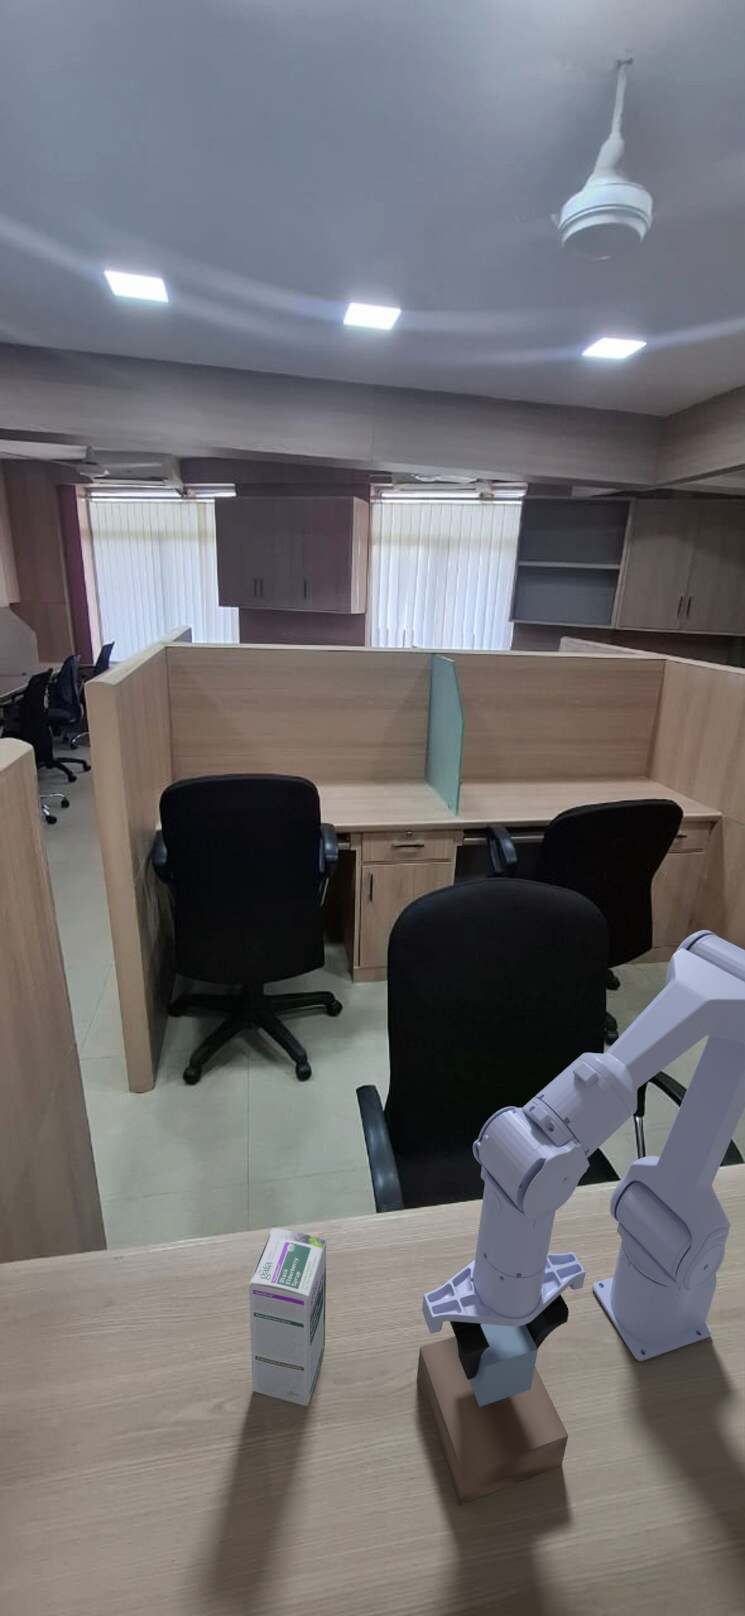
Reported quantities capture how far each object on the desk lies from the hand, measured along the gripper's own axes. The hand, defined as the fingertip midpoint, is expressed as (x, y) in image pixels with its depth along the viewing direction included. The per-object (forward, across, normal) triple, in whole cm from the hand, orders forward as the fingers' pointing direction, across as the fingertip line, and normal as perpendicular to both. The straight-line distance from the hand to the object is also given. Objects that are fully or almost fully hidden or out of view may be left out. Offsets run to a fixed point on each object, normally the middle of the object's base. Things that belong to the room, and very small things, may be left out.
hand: (495, 1357), depth 58 cm
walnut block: (+8, 0, 0) cm, 8 cm away
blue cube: (+2, 0, 0) cm, 2 cm away
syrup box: (+8, +17, -9) cm, 21 cm away
